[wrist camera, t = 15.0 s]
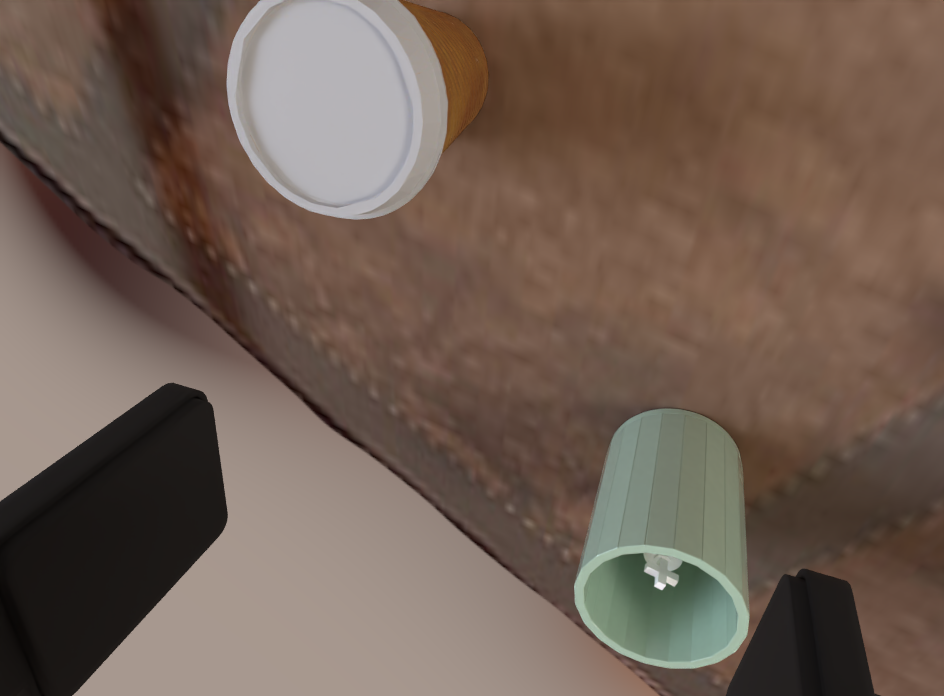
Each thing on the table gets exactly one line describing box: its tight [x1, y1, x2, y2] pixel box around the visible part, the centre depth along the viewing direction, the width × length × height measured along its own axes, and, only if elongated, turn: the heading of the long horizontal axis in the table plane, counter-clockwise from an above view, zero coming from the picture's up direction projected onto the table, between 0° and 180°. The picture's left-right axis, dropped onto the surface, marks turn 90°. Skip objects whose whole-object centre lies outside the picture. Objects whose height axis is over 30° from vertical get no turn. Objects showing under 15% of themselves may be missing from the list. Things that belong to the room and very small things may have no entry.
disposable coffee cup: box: [227, 0, 488, 219], centre depth 30 cm, size 10×10×12 cm
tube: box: [574, 408, 750, 668], centre depth 37 cm, size 8×8×12 cm
